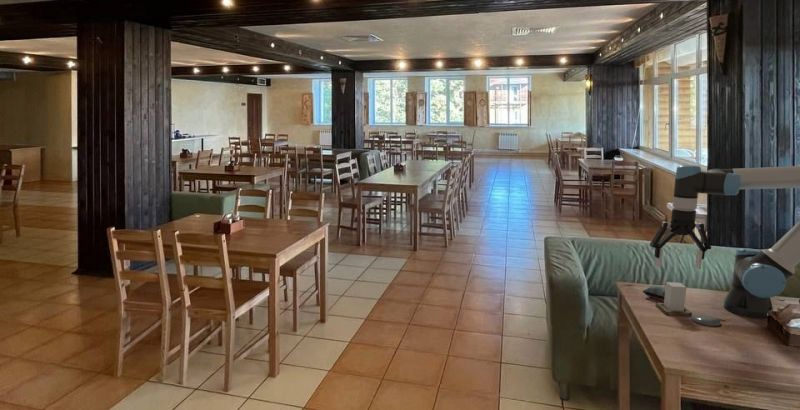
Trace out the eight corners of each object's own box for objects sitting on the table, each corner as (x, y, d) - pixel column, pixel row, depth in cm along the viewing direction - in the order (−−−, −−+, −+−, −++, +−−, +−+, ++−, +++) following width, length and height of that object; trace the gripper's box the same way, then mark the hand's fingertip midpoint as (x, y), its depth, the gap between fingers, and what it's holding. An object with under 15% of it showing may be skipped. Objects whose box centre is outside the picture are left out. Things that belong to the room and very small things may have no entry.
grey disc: (712, 316, 189) (712, 314, 189) (725, 326, 180) (725, 324, 180) (685, 315, 190) (686, 313, 190) (697, 325, 181) (698, 323, 181)
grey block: (677, 308, 197) (680, 282, 195) (683, 313, 192) (686, 287, 190) (663, 308, 197) (666, 282, 195) (669, 313, 192) (671, 286, 190)
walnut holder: (680, 307, 198) (681, 303, 198) (691, 315, 190) (692, 312, 189) (655, 305, 199) (656, 302, 199) (665, 314, 190) (665, 311, 190)
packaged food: (653, 292, 215) (654, 281, 214) (682, 301, 205) (684, 289, 204) (641, 296, 210) (642, 284, 209) (670, 306, 200) (672, 293, 199)
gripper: (715, 208, 191) (708, 265, 194) (643, 206, 192) (638, 263, 196) (726, 211, 183) (719, 271, 187) (651, 209, 185) (646, 268, 189)
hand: (678, 267), depth 191 cm, fingers open, 13 cm apart
